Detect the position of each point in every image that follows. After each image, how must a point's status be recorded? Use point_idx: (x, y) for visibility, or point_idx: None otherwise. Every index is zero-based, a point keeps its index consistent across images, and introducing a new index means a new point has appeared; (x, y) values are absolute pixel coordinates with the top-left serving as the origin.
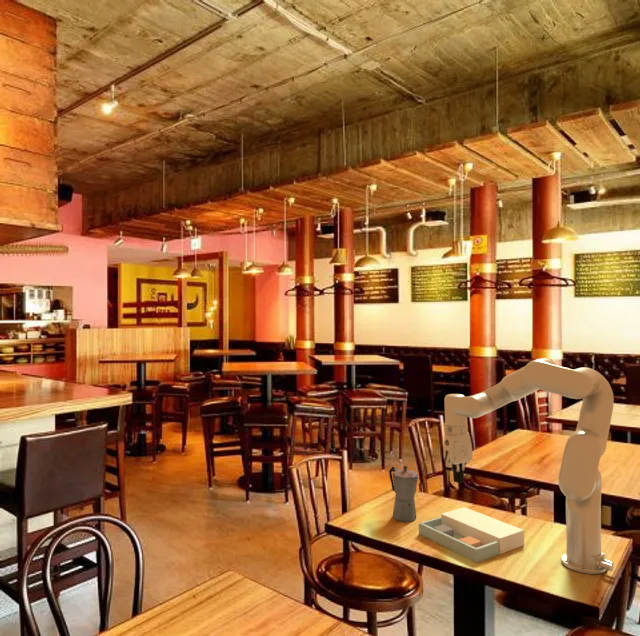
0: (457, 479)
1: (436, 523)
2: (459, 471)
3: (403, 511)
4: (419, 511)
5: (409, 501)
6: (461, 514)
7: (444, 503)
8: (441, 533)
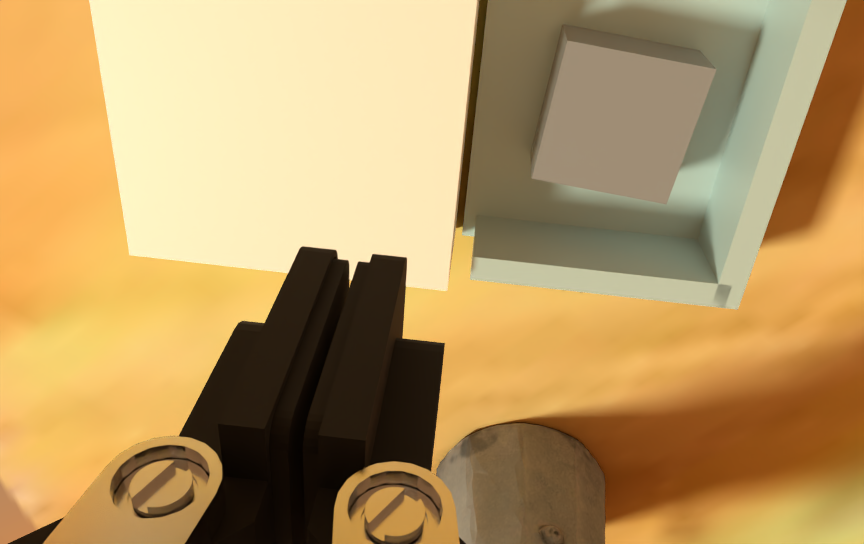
0: (428, 347)
1: (541, 245)
2: (341, 468)
3: (591, 512)
4: None
5: None
6: (296, 161)
7: (87, 467)
8: (840, 6)
